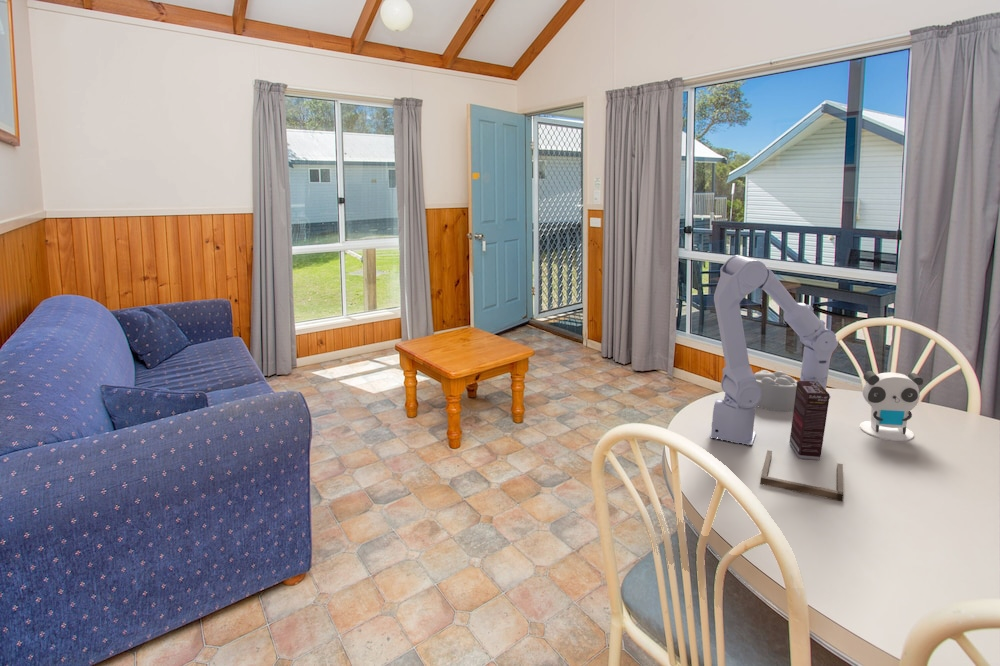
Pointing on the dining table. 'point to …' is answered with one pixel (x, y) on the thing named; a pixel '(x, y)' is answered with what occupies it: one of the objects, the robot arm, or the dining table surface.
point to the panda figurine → (890, 404)
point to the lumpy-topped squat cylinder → (776, 390)
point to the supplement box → (809, 419)
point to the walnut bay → (803, 487)
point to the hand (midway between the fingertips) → (807, 427)
